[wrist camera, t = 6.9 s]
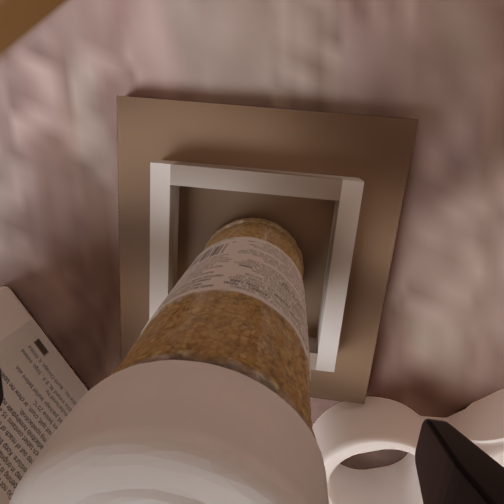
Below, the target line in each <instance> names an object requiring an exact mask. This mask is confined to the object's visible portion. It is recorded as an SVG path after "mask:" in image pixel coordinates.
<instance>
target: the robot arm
mask: <svg viewBox="0 0 504 504" xmlns="http://www.w3.org/2000/svg"><path fill="white" fill-rule="evenodd" d="M3 397H4V393H3V384H2V376H1V368H0V406H1V404H2V402H3ZM415 464H416V470H417V474H418V479H419V484H420V489H421V494H422V499H423V504H504V467H503V466H501V465H500V464H499V463H498V462H497V461H495V460H494V459H493V458H492V457H490V456H489V455H488V454H487V453H485V452H484V451H483V450H482V449H480V448H479V447H478V446H477V445H475V444H474V443H473V442H472V441H470V440H469V439H468V438H467V437H465V436H464V435H463V434H462V433H461V432H459V431H458V430H457V429H456V428H454V427H453V426H452V425H451V424H449V423H448V422H446V421H443V420H435V419H425V420H424V421H423V423H422V426H421V430H420V434H419V438H418V442H417V447H416V451H415Z"/></svg>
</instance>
